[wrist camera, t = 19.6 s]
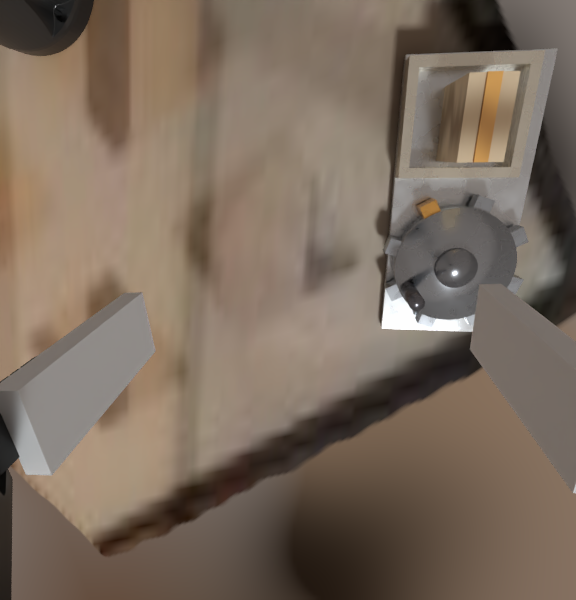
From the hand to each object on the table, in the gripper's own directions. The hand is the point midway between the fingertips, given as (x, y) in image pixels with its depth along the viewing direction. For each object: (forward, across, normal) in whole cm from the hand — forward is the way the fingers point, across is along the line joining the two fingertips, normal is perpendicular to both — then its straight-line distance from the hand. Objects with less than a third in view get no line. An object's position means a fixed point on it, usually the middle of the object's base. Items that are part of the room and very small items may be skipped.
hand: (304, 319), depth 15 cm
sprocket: (+30, +15, -7) cm, 34 cm away
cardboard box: (+30, +15, +8) cm, 35 cm away
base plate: (+31, +15, -1) cm, 35 cm away
